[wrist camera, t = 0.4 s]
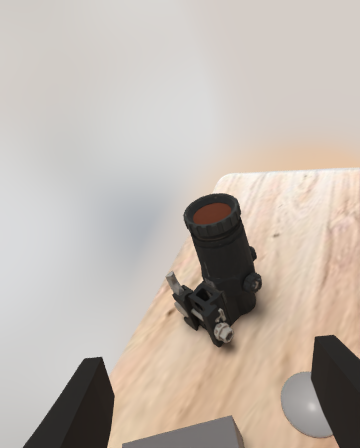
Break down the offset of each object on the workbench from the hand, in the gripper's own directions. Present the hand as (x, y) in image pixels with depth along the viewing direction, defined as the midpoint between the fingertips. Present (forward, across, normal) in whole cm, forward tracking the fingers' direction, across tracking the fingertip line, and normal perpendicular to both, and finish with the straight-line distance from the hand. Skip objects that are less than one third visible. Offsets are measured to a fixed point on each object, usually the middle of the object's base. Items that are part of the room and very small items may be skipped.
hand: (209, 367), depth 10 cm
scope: (+21, -4, +16) cm, 27 cm away
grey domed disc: (+9, -8, +17) cm, 21 cm away
